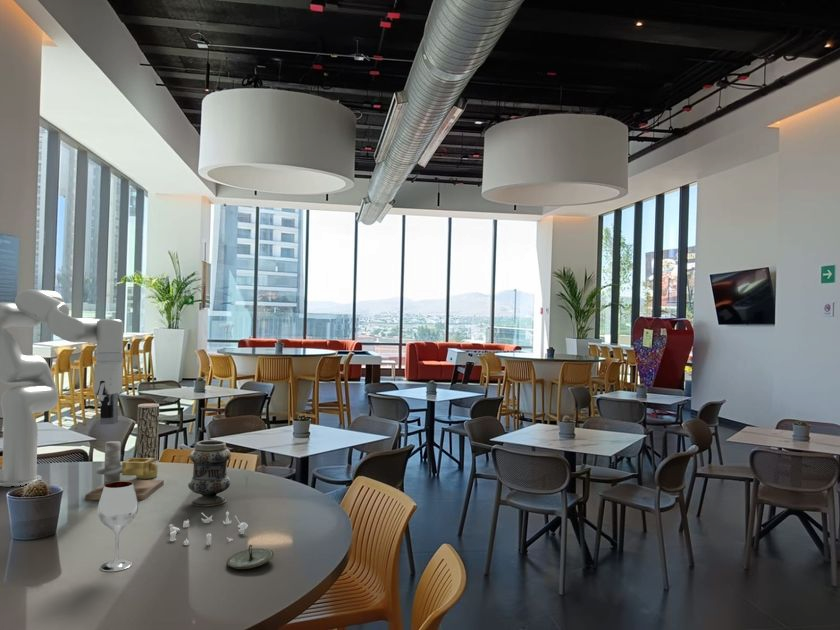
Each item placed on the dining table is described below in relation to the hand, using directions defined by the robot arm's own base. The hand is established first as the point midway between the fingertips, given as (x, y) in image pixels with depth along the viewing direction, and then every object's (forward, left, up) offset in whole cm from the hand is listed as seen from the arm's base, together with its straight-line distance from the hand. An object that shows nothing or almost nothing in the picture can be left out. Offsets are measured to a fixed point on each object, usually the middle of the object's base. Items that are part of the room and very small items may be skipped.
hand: (109, 416), depth 198 cm
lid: (+56, -59, -24) cm, 85 cm away
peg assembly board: (+5, +1, -24) cm, 24 cm away
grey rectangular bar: (0, 0, -2) cm, 2 cm away
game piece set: (+41, -38, -25) cm, 61 cm away
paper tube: (+5, +20, -24) cm, 32 cm away
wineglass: (+27, -60, -24) cm, 70 cm away
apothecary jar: (+34, -10, -24) cm, 43 cm away
